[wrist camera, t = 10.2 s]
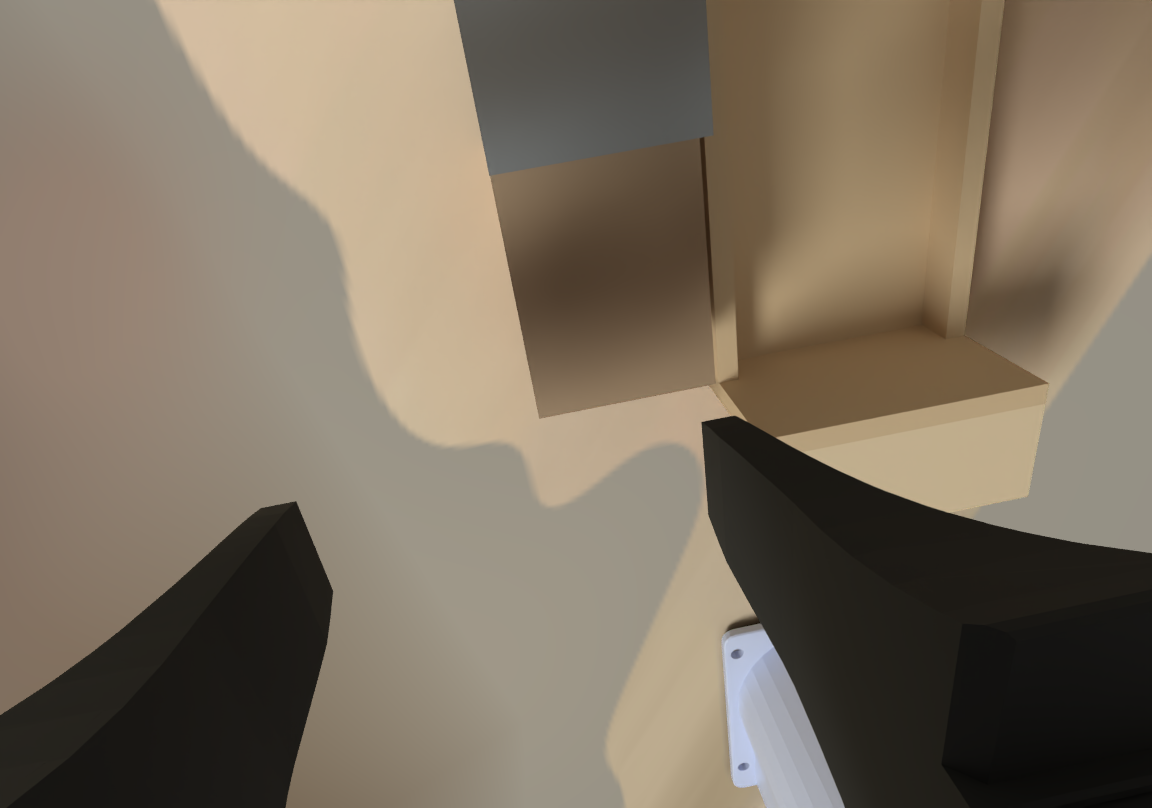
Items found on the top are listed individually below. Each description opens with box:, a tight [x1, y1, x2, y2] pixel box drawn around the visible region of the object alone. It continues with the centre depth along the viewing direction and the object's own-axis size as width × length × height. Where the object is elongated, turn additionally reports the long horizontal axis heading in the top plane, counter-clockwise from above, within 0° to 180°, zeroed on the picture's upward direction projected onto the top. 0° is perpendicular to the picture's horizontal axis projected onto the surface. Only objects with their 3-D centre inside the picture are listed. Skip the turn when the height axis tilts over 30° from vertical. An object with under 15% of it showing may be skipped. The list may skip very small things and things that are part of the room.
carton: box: [700, 0, 1049, 513], centre depth 17 cm, size 20×8×5 cm, turn 8°
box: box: [454, 0, 716, 419], centre depth 16 cm, size 10×4×6 cm, turn 9°
